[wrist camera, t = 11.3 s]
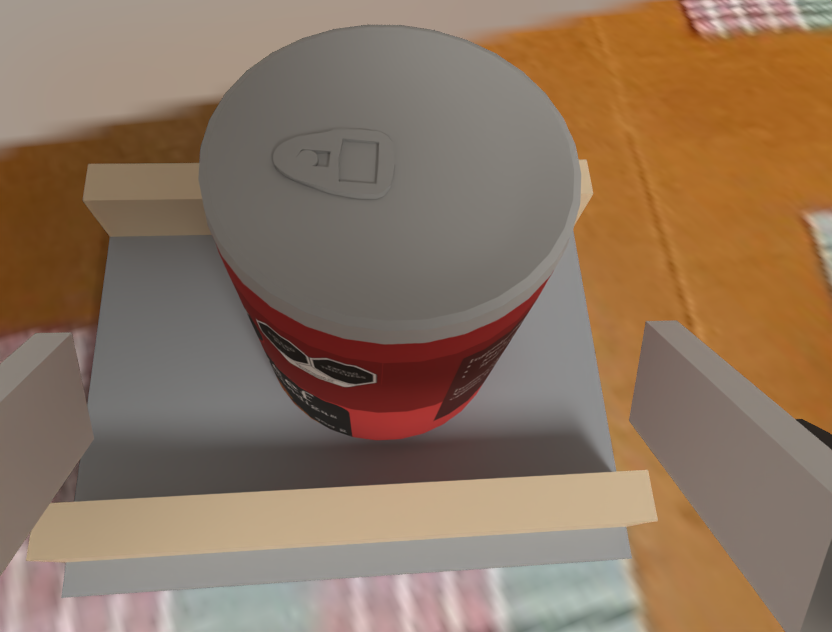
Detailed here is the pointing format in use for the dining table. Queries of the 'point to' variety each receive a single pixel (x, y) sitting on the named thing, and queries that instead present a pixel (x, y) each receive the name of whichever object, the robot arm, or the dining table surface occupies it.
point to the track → (312, 436)
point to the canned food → (387, 218)
